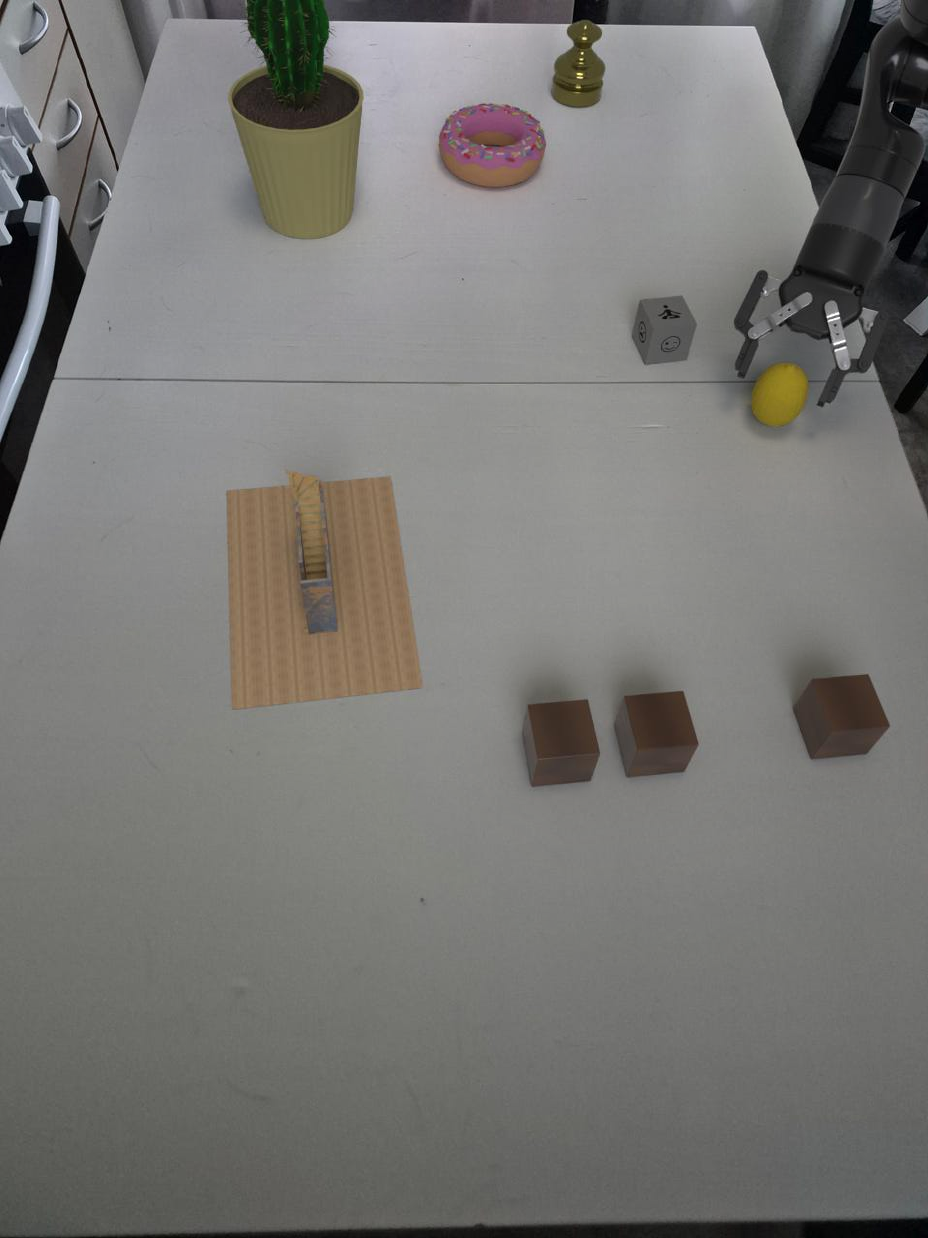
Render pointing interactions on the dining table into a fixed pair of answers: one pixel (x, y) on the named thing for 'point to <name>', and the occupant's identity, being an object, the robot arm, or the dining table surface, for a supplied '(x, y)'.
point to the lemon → (779, 394)
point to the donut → (492, 127)
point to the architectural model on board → (317, 593)
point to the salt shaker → (579, 68)
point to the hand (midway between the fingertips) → (780, 391)
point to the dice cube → (663, 329)
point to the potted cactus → (298, 120)
